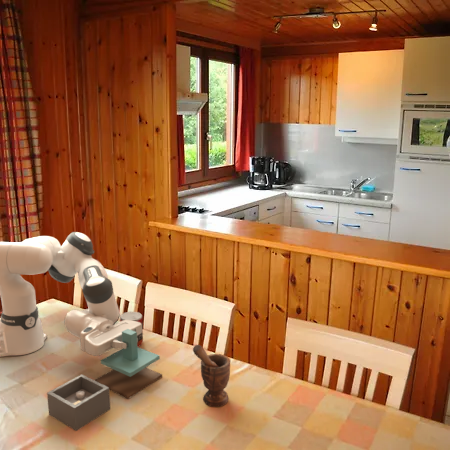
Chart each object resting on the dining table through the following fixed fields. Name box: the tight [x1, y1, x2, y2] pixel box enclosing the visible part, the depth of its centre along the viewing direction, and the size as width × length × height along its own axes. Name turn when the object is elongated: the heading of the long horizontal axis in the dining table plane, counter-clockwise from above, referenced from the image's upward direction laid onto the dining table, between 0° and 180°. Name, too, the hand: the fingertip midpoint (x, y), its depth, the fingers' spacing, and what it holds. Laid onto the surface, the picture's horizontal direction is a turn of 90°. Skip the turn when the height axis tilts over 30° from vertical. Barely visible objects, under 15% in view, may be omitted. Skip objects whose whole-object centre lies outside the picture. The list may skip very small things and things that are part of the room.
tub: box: [46, 373, 111, 432], centre depth 138 cm, size 12×12×7 cm
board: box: [94, 367, 163, 400], centre depth 155 cm, size 15×15×1 cm
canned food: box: [119, 311, 144, 347], centre depth 178 cm, size 8×8×11 cm
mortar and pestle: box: [192, 344, 231, 408], centre depth 142 cm, size 12×9×20 cm
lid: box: [100, 329, 161, 377], centre depth 153 cm, size 13×13×11 cm
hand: (131, 343), depth 152 cm, fingers closed on lid, 2 cm apart
